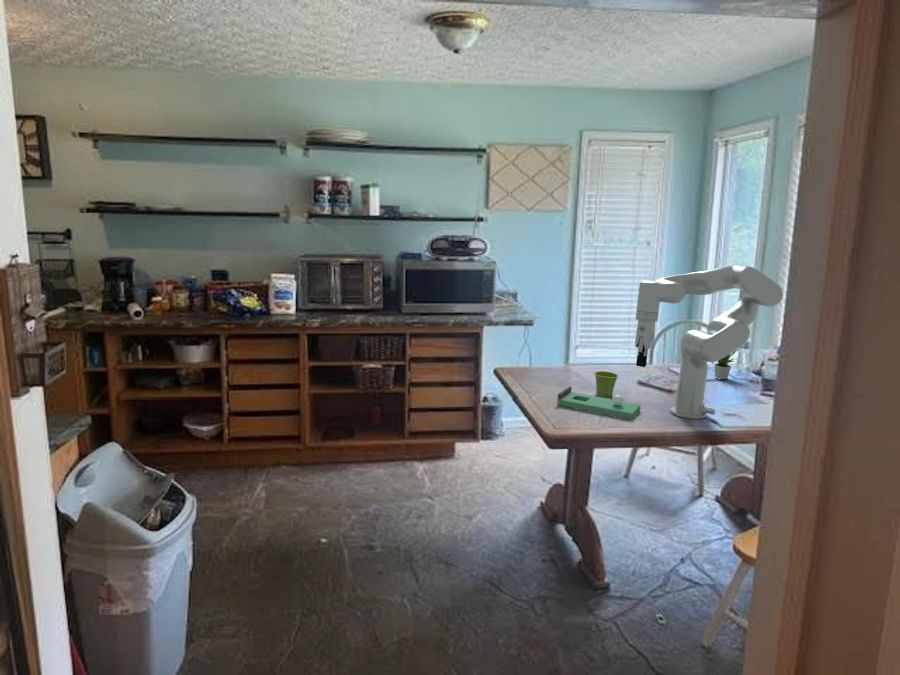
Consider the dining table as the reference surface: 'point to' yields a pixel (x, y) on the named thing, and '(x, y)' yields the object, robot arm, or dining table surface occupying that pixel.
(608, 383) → the plant pot
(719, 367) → the house plant
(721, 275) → the robot arm
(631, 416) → the green
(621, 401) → the ball
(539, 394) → the dining table surface
